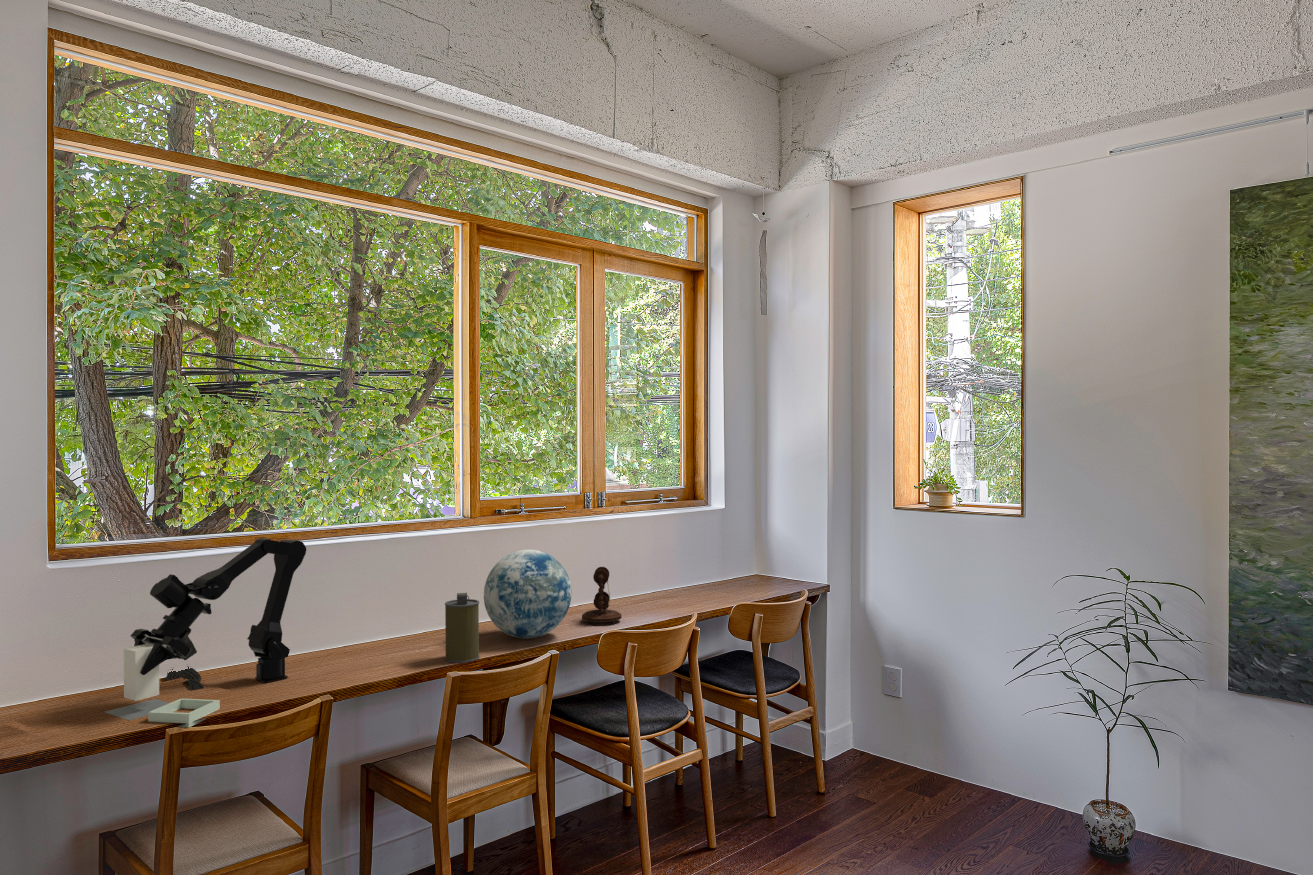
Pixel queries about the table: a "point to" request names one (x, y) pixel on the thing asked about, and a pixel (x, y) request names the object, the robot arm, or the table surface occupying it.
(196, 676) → the hairbrush
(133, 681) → the white block
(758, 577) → the table surface
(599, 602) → the dark pedestal ornament
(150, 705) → the coaster
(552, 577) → the globe
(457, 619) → the canister
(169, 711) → the tray
